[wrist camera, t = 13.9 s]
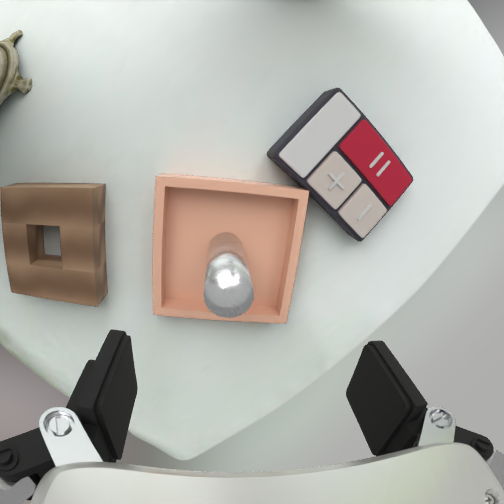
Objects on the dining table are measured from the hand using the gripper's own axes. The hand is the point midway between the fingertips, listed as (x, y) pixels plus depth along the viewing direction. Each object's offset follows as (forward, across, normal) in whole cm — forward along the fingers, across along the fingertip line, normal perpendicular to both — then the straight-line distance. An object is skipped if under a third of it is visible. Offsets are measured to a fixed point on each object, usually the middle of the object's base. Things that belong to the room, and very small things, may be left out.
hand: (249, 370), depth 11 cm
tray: (+26, 0, +4) cm, 26 cm away
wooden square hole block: (+26, +22, +4) cm, 34 cm away
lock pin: (+25, 0, +4) cm, 25 cm away
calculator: (+27, -13, -8) cm, 30 cm away
